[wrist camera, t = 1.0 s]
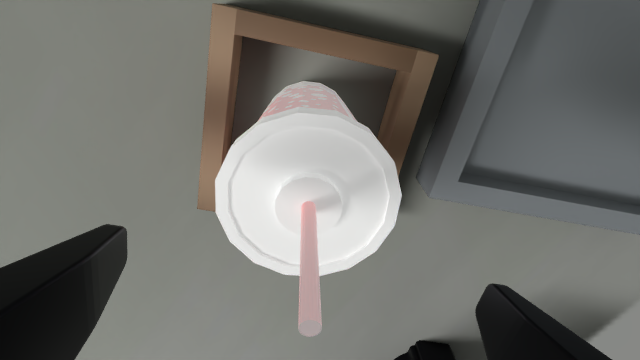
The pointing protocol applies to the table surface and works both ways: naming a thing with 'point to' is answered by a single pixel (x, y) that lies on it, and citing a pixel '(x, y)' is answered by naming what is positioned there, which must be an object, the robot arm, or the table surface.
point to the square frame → (242, 22)
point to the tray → (544, 114)
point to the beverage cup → (307, 191)
